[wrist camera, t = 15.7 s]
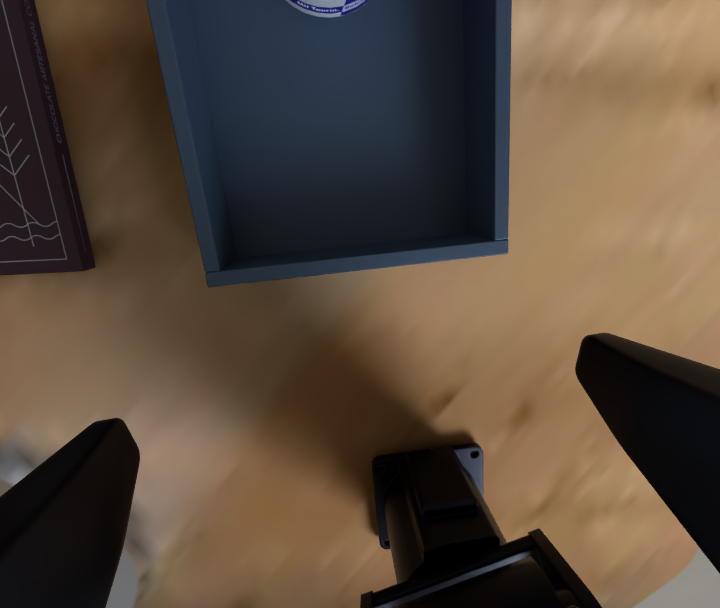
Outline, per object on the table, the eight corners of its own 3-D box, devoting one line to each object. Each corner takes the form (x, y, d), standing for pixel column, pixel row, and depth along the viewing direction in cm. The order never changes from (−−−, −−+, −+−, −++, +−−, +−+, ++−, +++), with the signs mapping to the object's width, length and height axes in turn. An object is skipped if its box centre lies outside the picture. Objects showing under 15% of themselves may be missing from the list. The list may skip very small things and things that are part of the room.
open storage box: (474, 242, 19) (508, 253, 16) (229, 269, 19) (207, 287, 15) (470, -215, 14) (517, -347, 11) (136, -203, 14) (71, -342, 10)
